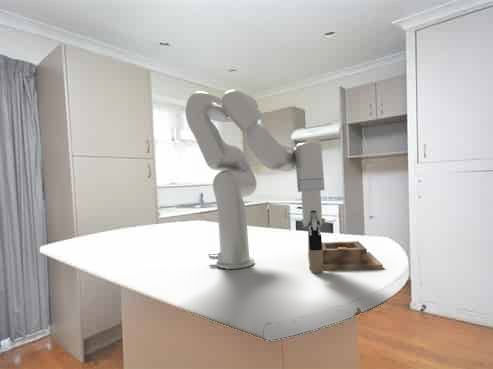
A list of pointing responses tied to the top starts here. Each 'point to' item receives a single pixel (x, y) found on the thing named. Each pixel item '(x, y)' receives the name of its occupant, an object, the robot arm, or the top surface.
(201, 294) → the top surface
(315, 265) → the handle
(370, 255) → the hub block
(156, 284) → the top surface
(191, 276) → the top surface
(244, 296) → the top surface
